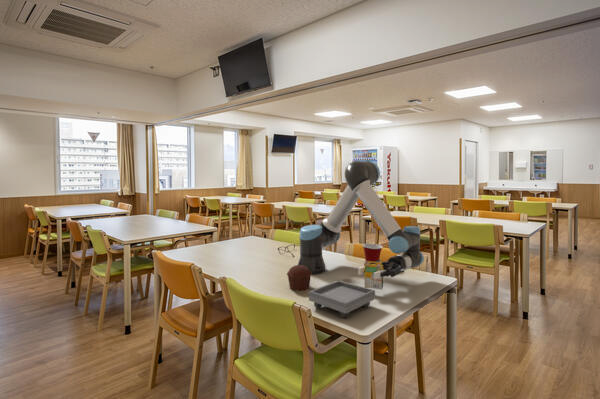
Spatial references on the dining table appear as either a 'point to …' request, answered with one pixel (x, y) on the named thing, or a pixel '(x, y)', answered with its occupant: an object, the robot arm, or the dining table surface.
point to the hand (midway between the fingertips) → (366, 273)
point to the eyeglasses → (287, 248)
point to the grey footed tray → (342, 297)
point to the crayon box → (369, 275)
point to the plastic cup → (372, 252)
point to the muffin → (299, 278)
